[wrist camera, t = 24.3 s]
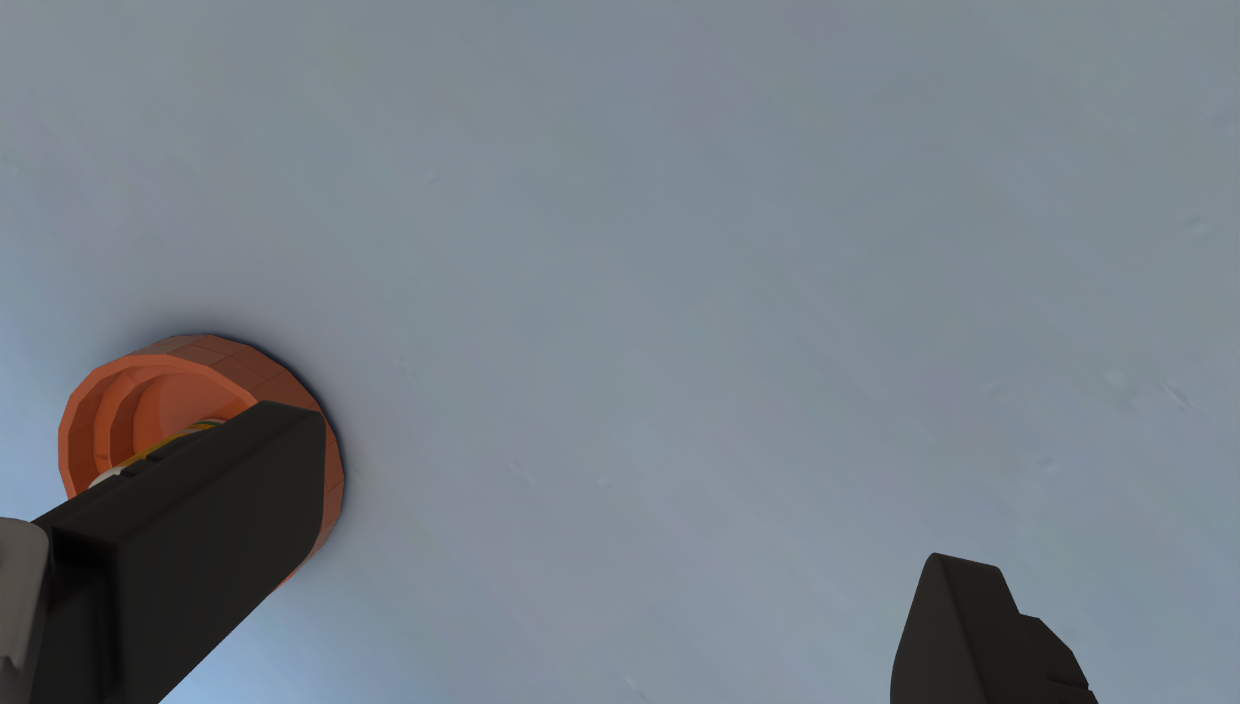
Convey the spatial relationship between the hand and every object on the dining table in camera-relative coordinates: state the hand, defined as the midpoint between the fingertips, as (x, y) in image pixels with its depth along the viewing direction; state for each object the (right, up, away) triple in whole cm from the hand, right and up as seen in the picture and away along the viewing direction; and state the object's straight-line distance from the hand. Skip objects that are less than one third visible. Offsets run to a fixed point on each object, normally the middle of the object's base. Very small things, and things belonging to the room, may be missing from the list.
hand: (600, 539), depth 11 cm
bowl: (-21, -3, +35) cm, 41 cm away
